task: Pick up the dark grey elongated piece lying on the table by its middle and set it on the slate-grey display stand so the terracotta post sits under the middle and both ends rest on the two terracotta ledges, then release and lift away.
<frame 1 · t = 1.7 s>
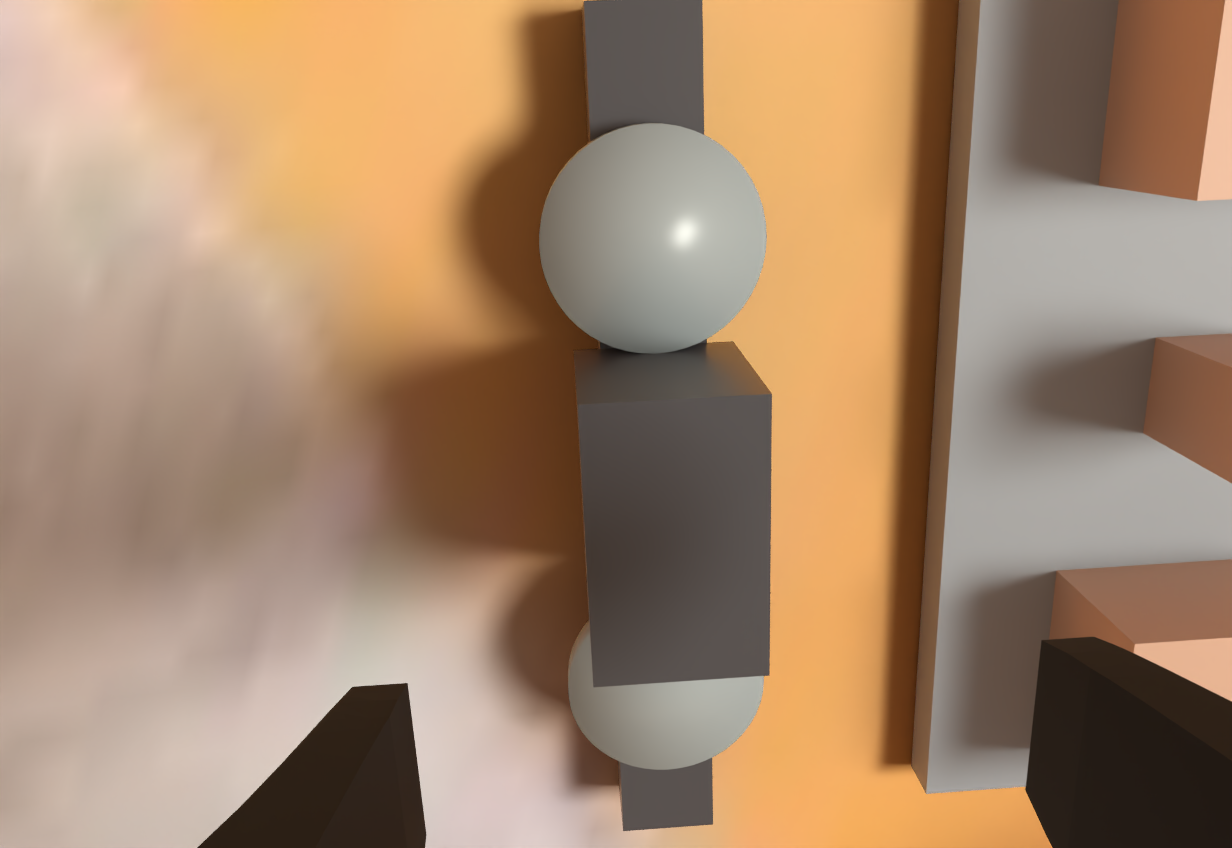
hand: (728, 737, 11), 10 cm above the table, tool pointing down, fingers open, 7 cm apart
dark grey elongated piece: (650, 445, 21), on the table
display stand: (1168, 370, 21), on the table
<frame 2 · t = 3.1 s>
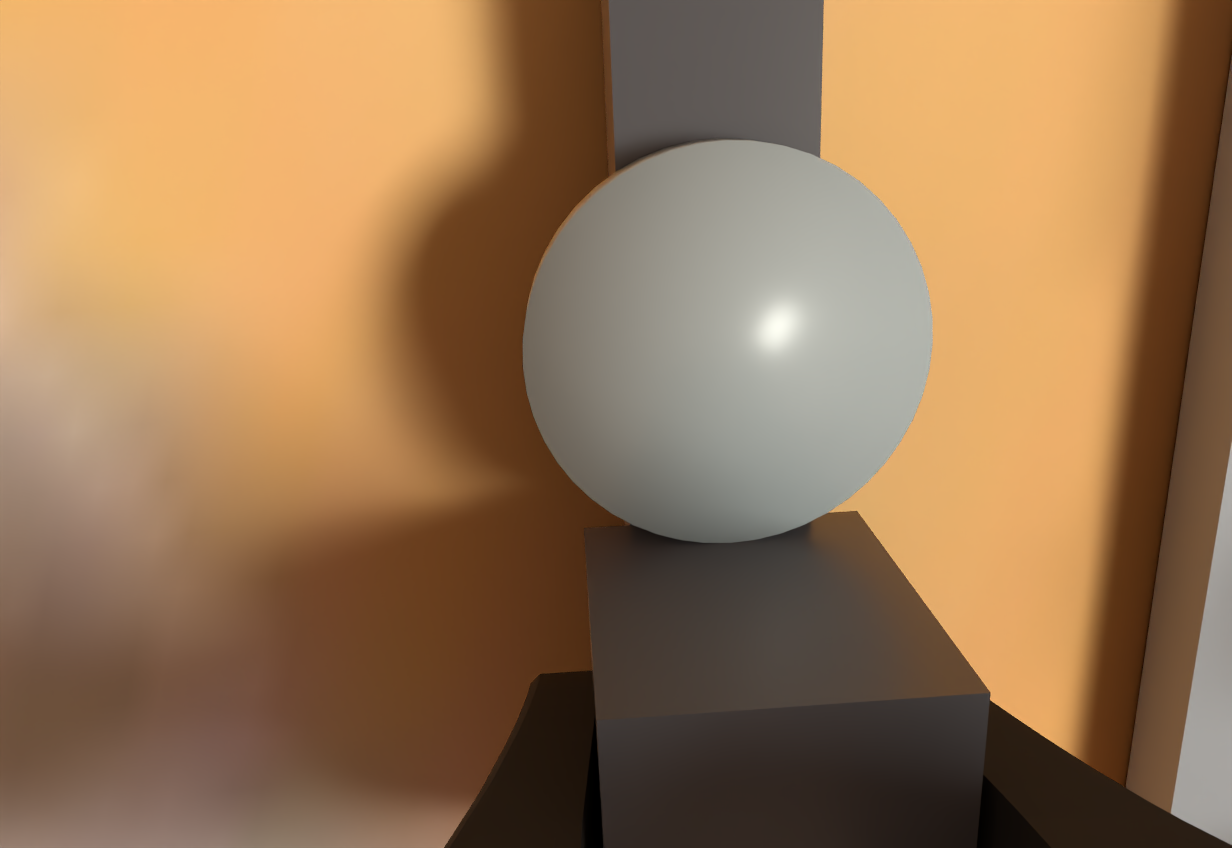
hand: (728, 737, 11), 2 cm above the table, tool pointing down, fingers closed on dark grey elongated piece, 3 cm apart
dark grey elongated piece: (704, 648, 13), on the table, touching gripper
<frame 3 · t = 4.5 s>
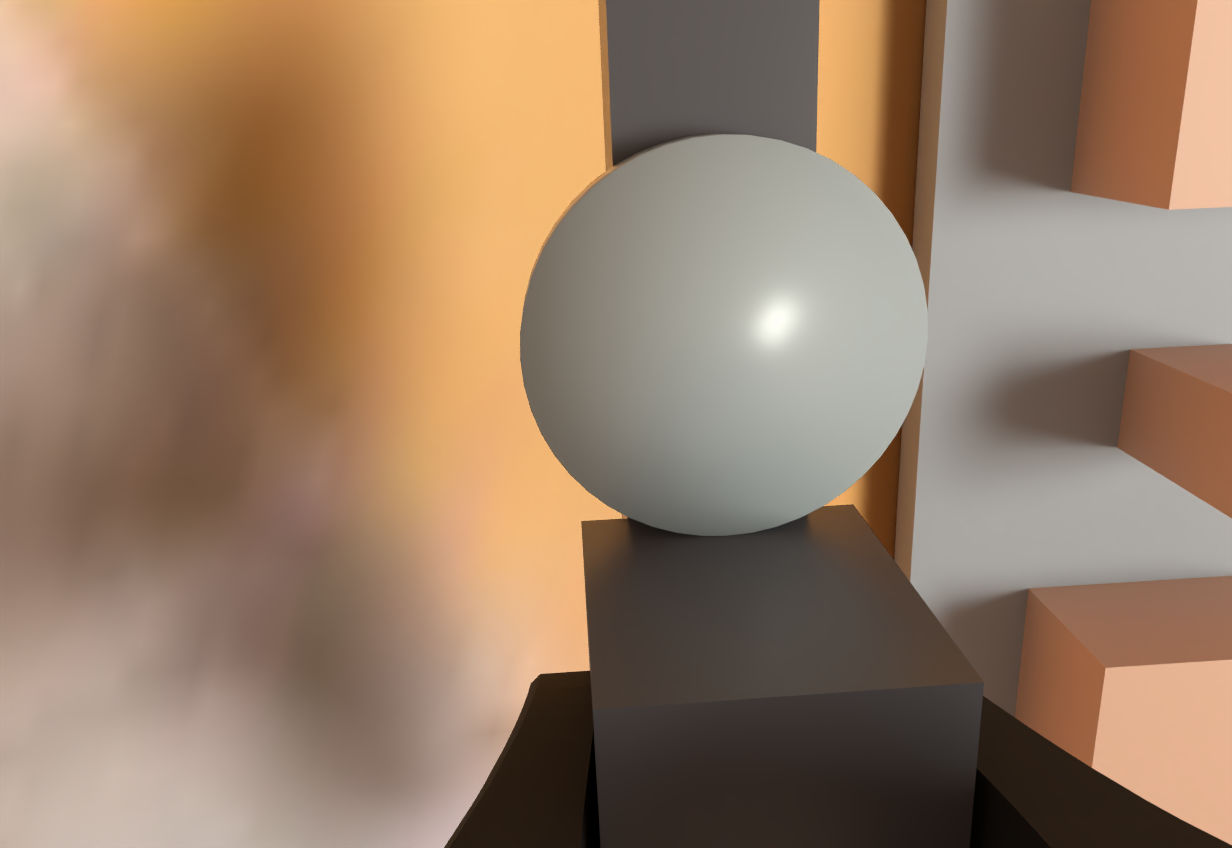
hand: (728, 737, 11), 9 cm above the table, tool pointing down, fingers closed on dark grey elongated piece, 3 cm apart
dark grey elongated piece: (702, 642, 13), point 7 cm above the table, touching gripper
display stand: (1144, 382, 20), on the table
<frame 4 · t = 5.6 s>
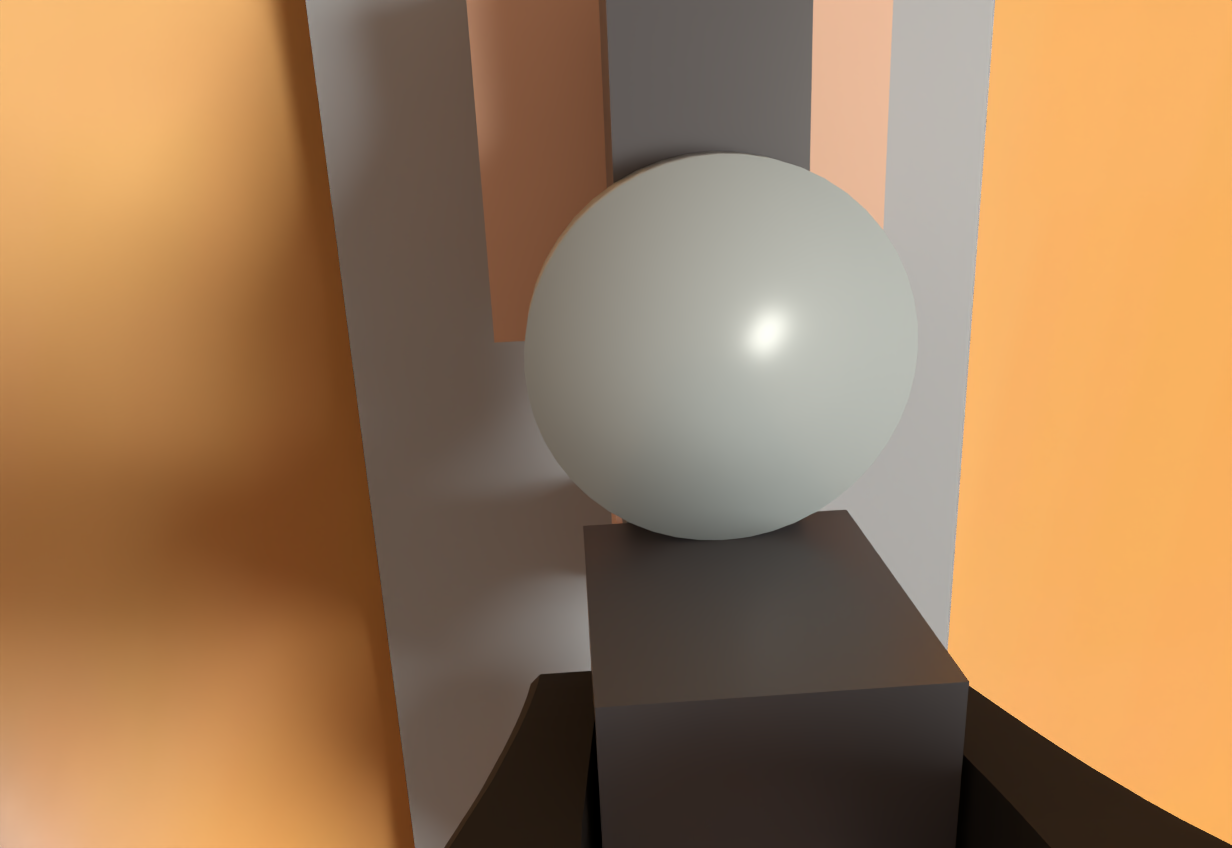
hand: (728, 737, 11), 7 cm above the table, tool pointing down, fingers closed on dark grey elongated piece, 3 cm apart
dark grey elongated piece: (700, 642, 13), point 5 cm above the table, touching gripper
display stand: (664, 499, 18), on the table
when the fingers open (7 cm above the table, at t = 6.2 s): dark grey elongated piece stays where it is, resting on display stand.
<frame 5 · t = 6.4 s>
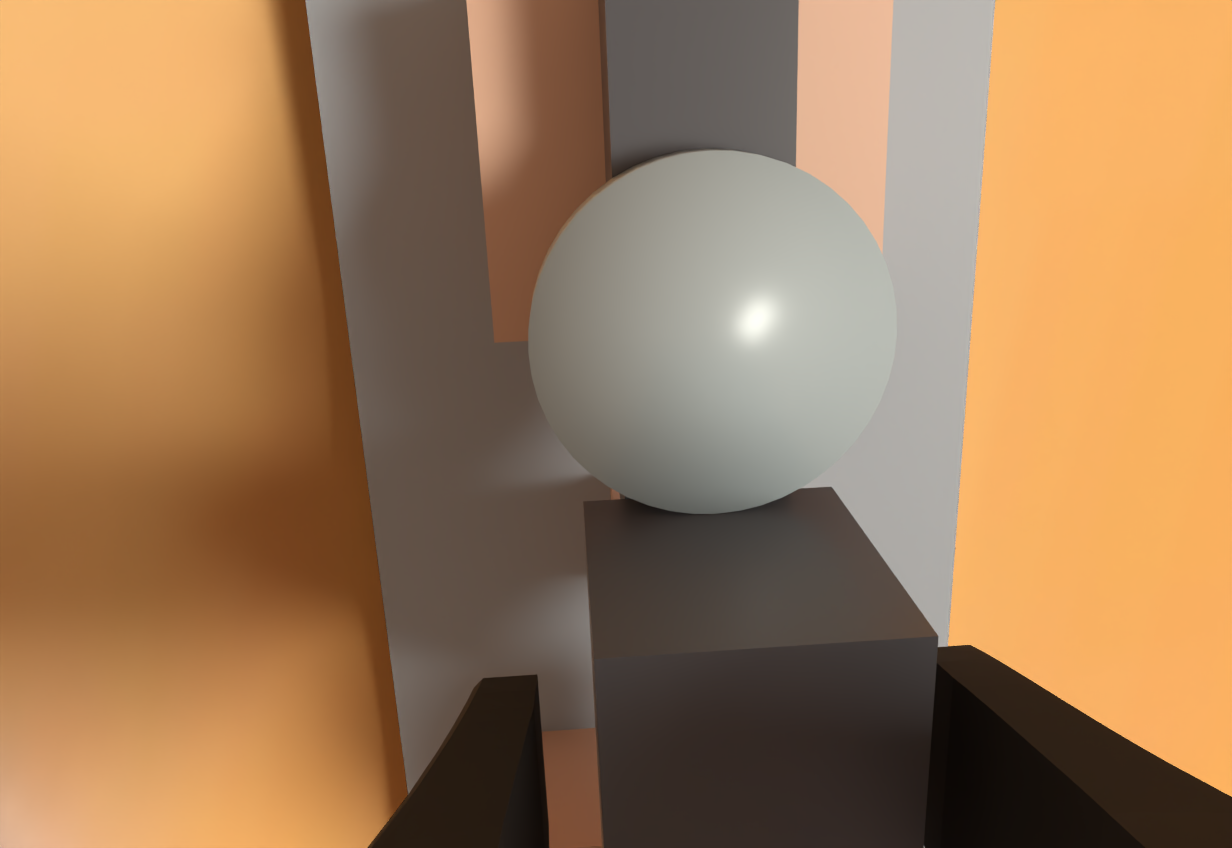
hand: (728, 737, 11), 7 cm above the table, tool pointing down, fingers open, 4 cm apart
dark grey elongated piece: (694, 616, 14), point 4 cm above the table, touching display stand
display stand: (664, 499, 18), on the table
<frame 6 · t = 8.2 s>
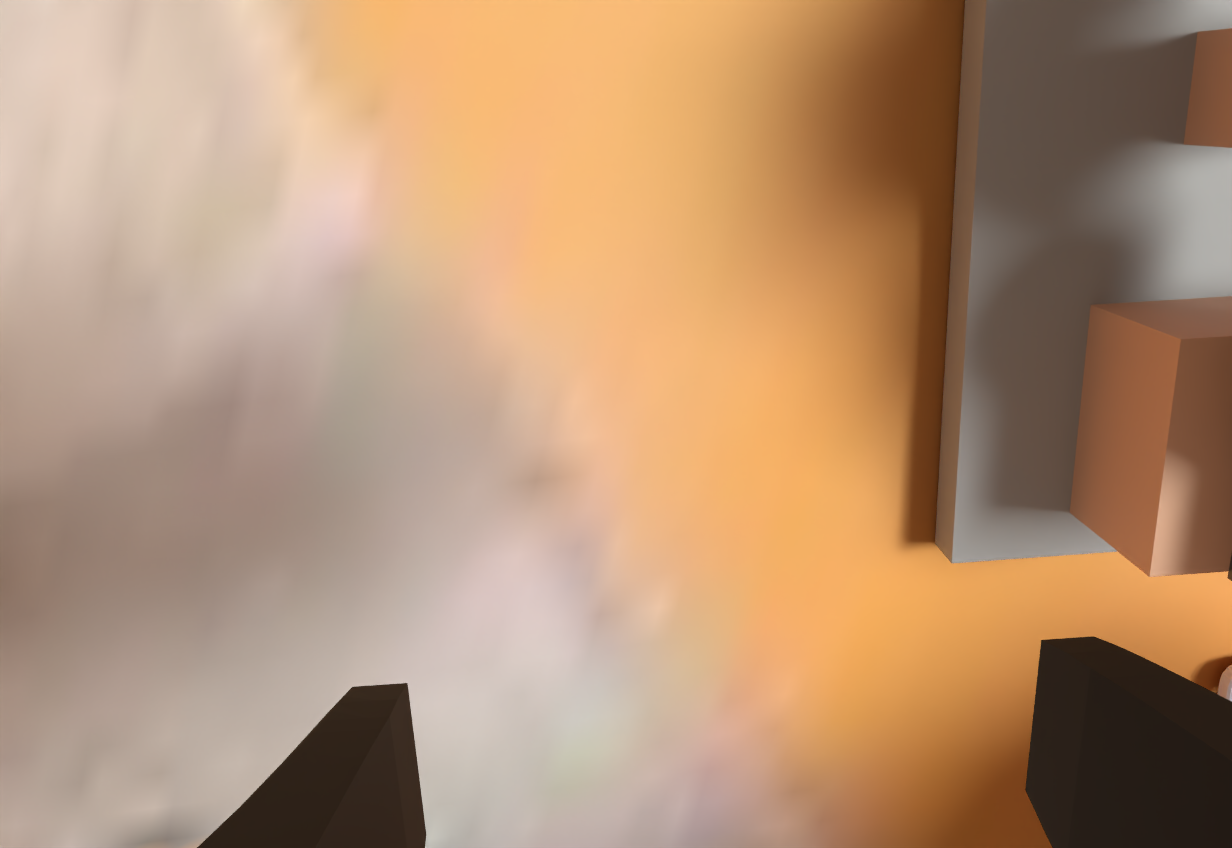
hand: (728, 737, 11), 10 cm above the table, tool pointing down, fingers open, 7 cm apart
display stand: (1209, 87, 19), on the table
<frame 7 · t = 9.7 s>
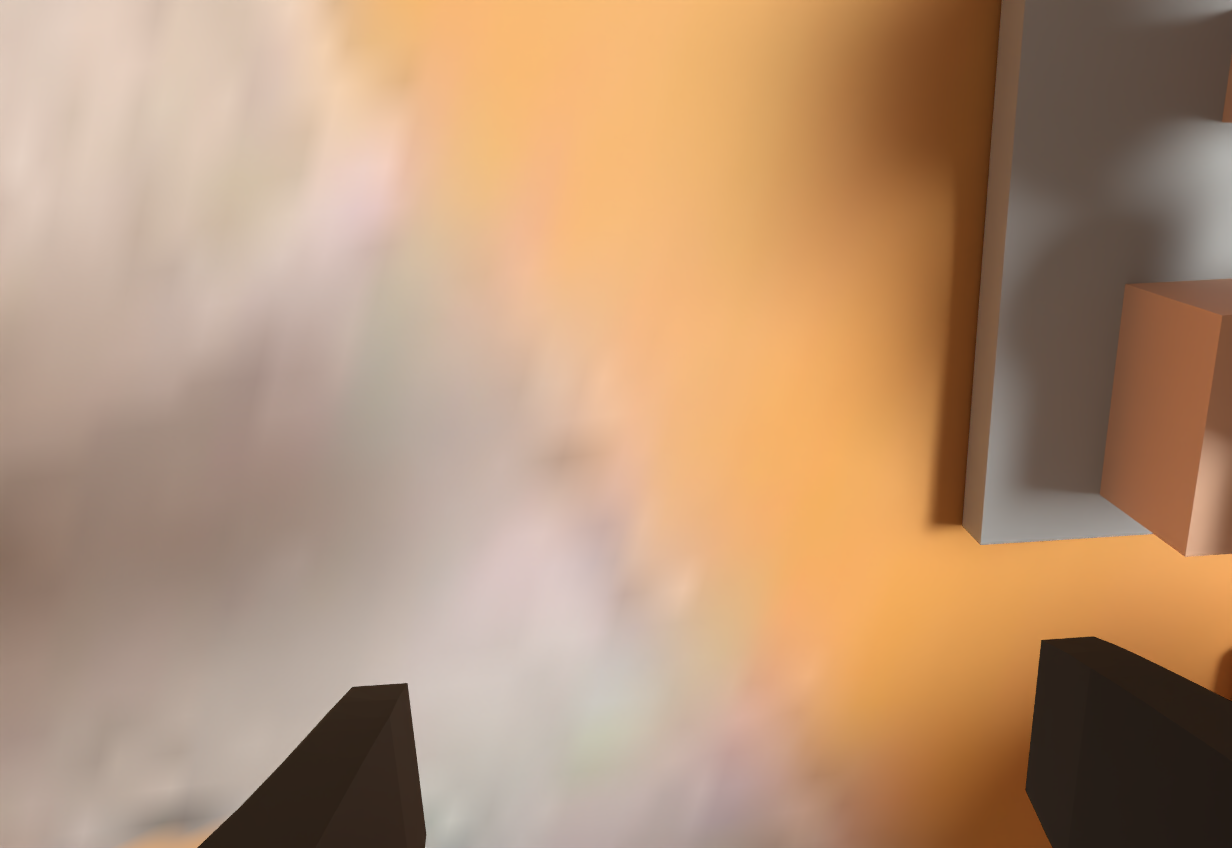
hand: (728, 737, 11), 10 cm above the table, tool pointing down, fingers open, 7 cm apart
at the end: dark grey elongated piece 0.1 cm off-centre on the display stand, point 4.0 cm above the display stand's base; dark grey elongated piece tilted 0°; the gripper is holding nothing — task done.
